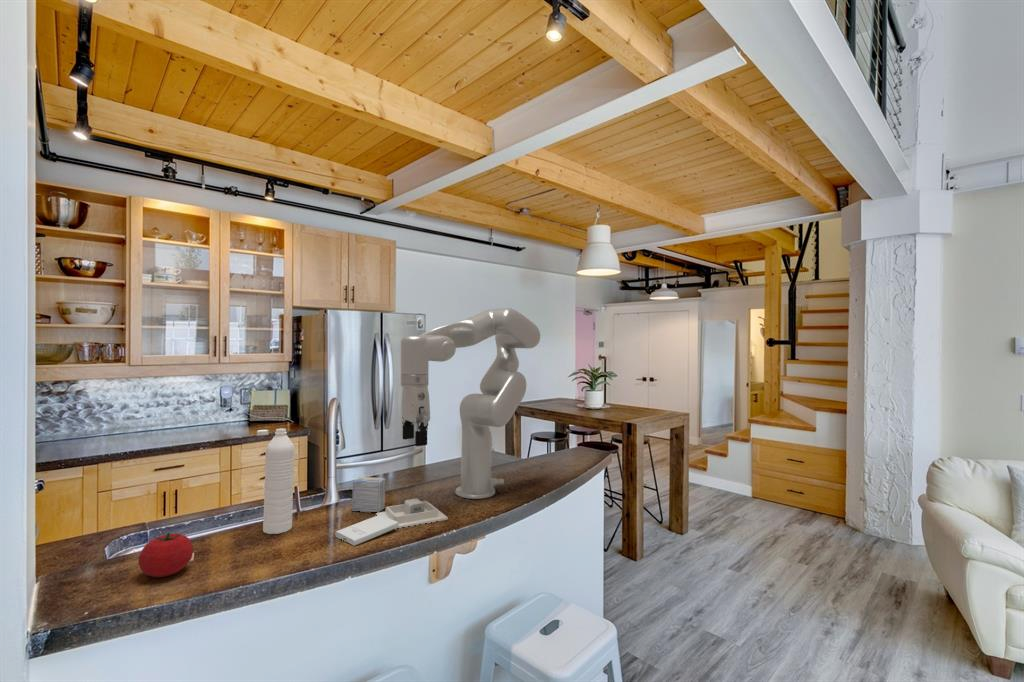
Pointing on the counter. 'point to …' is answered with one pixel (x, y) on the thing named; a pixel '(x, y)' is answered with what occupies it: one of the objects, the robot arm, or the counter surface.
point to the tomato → (165, 555)
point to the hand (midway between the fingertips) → (414, 442)
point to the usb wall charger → (413, 506)
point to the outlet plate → (413, 515)
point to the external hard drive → (366, 529)
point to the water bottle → (278, 483)
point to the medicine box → (368, 494)
